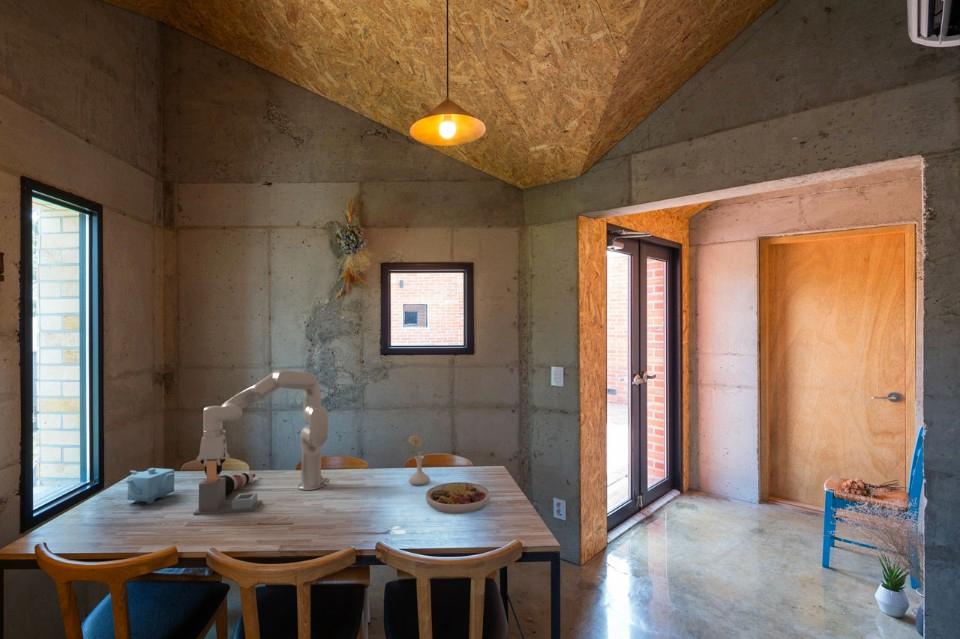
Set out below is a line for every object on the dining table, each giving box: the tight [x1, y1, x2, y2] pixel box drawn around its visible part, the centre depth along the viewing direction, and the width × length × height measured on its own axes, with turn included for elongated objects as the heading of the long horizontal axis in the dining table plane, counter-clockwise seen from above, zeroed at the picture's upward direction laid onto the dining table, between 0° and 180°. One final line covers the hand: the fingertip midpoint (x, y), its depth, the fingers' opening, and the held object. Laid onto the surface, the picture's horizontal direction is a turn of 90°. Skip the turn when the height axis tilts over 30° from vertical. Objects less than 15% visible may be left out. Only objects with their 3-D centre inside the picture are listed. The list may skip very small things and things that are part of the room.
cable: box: [220, 471, 256, 498], centre depth 232 cm, size 10×34×10 cm, turn 171°
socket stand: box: [192, 477, 263, 516], centre depth 208 cm, size 25×11×13 cm, turn 99°
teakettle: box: [124, 467, 175, 505], centre depth 220 cm, size 19×19×15 cm
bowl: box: [425, 481, 491, 515], centre depth 213 cm, size 30×30×8 cm
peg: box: [206, 459, 221, 483], centre depth 208 cm, size 4×4×10 cm
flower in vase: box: [408, 434, 431, 486], centre depth 242 cm, size 13×11×25 cm
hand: (213, 473), depth 208 cm, fingers closed on peg, 4 cm apart
